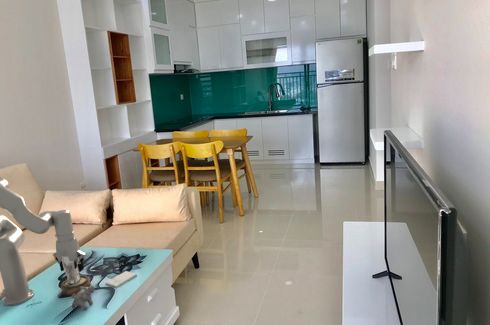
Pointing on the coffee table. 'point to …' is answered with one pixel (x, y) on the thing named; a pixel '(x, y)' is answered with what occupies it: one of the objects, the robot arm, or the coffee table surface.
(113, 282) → the external hard drive
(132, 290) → the coffee table surface
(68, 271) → the silver metal cup
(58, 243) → the robot arm
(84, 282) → the brown round bowl
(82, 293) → the elephant statuette
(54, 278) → the coffee table surface
